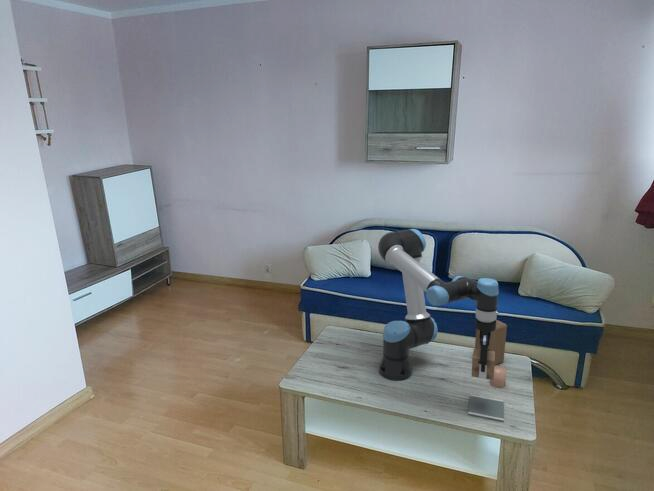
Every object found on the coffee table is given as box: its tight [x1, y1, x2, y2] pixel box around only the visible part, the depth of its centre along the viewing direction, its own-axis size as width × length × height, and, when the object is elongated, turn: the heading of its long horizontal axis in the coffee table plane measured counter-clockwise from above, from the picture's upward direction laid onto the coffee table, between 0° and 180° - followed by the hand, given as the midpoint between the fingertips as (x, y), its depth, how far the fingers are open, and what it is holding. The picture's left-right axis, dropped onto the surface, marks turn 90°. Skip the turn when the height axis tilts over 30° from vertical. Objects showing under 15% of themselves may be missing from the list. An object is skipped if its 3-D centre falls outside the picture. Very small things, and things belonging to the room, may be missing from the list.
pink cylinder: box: [489, 365, 507, 389], centre depth 190 cm, size 6×6×7 cm
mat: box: [467, 394, 505, 423], centre depth 174 cm, size 13×13×1 cm
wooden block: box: [474, 319, 508, 366], centre depth 206 cm, size 10×10×20 cm
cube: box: [471, 348, 495, 381], centre depth 171 cm, size 8×8×8 cm
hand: (482, 372), depth 172 cm, fingers closed on cube, 8 cm apart
